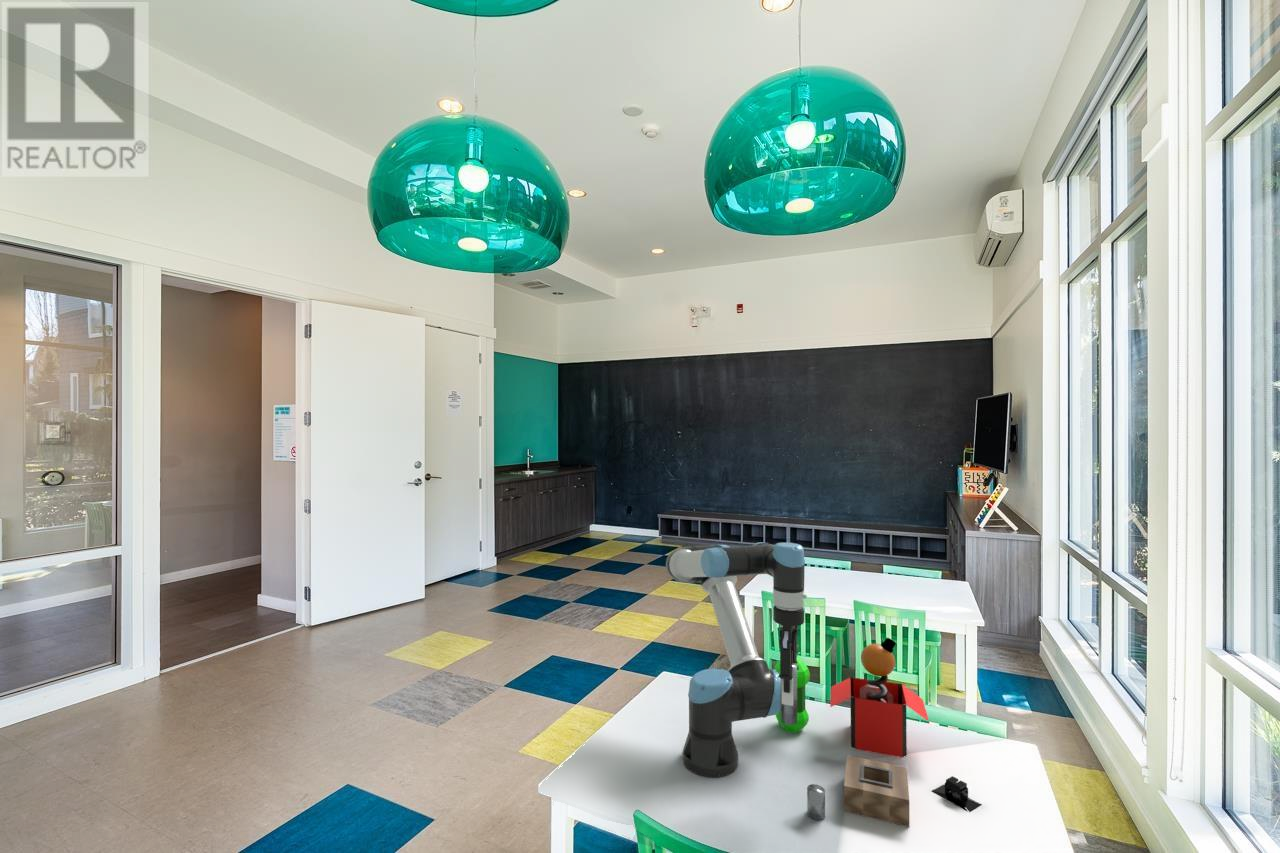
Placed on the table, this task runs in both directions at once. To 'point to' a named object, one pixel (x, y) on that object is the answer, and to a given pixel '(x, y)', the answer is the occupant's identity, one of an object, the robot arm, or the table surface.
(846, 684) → the jack-in-the-box
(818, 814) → the short pin
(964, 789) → the black notched mounting plate
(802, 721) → the plastic bottle
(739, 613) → the robot arm
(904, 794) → the hole block
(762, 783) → the table surface
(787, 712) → the long pin
